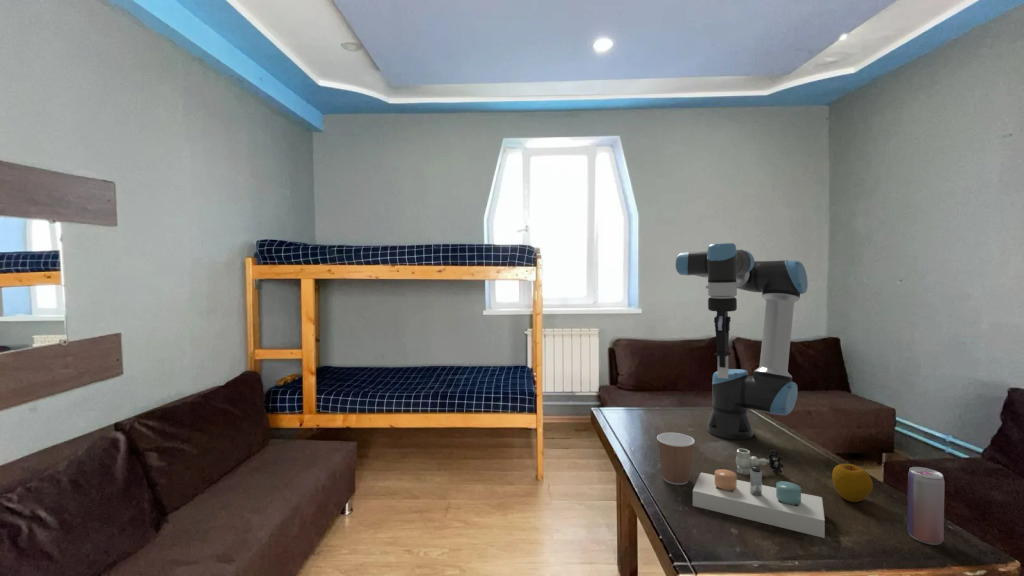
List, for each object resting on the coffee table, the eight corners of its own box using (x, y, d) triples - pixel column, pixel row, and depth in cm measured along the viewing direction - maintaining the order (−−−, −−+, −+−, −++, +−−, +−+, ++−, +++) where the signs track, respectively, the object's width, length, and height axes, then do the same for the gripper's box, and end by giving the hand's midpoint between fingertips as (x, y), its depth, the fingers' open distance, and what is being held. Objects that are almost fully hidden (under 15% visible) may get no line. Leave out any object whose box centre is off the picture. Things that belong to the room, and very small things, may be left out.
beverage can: (900, 531, 104) (901, 467, 103) (923, 529, 104) (925, 465, 104) (925, 547, 98) (927, 479, 97) (951, 545, 98) (952, 477, 98)
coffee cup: (693, 473, 134) (693, 434, 134) (695, 490, 125) (695, 447, 124) (657, 469, 138) (657, 430, 137) (656, 484, 128) (656, 443, 128)
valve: (741, 477, 132) (783, 477, 131) (741, 455, 132) (783, 455, 131) (731, 467, 138) (771, 467, 138) (731, 446, 138) (771, 446, 138)
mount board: (700, 486, 127) (700, 472, 127) (821, 513, 112) (821, 497, 112) (692, 505, 117) (692, 490, 116) (824, 538, 102) (824, 520, 102)
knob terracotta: (716, 493, 121) (716, 467, 121) (737, 498, 119) (737, 471, 118) (713, 501, 117) (713, 475, 117) (735, 507, 114) (735, 479, 114)
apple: (881, 505, 115) (881, 471, 114) (852, 509, 113) (852, 474, 113) (851, 489, 123) (851, 457, 123) (823, 492, 122) (824, 460, 122)
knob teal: (776, 506, 114) (776, 479, 114) (800, 512, 111) (801, 484, 111) (775, 516, 110) (775, 488, 109) (801, 522, 107) (801, 493, 107)
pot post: (750, 490, 116) (750, 464, 116) (762, 492, 114) (762, 466, 114) (749, 494, 114) (749, 468, 113) (761, 497, 112) (761, 470, 112)
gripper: (711, 295, 138) (712, 371, 139) (704, 298, 127) (705, 381, 128) (738, 295, 134) (739, 373, 135) (734, 299, 123) (735, 384, 124)
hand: (723, 377), depth 132 cm, fingers closed
